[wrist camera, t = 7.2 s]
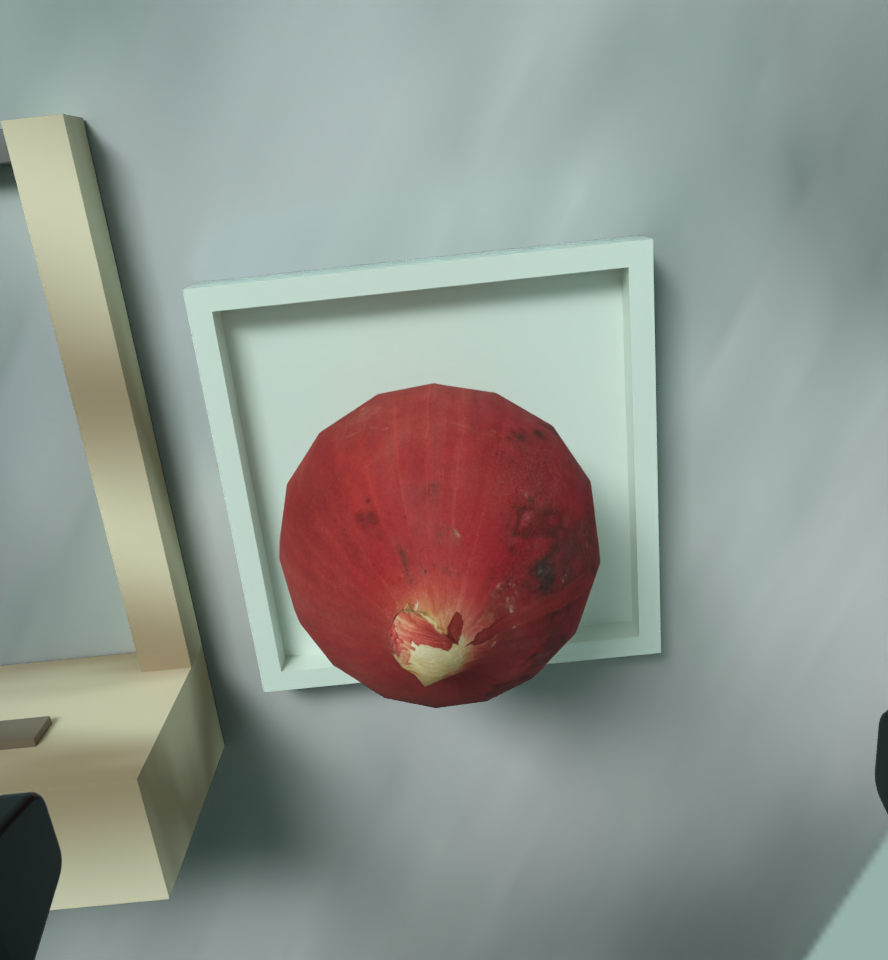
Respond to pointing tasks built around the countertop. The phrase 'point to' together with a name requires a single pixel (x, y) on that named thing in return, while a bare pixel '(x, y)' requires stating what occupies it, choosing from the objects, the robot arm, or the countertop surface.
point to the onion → (439, 544)
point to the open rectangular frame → (140, 571)
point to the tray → (448, 361)
